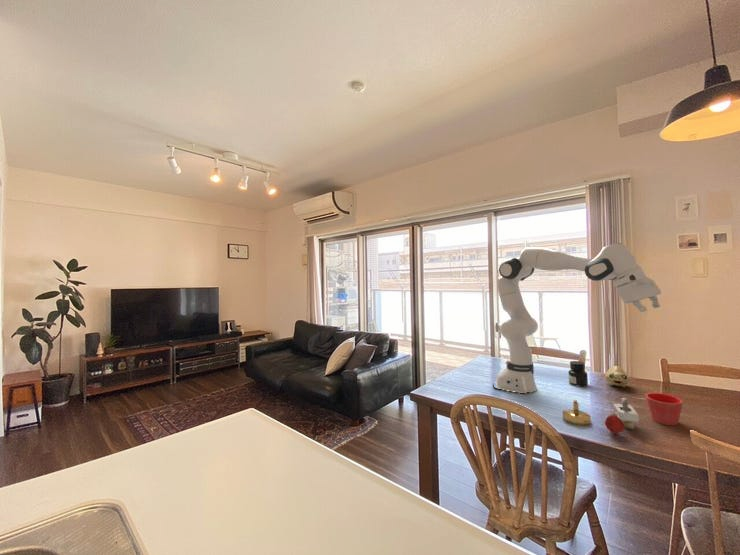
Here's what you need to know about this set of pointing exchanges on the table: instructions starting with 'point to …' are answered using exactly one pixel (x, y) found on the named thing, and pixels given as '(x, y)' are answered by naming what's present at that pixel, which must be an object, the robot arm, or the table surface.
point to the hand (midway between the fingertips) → (650, 309)
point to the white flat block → (626, 413)
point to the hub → (576, 416)
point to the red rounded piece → (614, 424)
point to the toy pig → (617, 376)
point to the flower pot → (664, 408)
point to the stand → (625, 407)
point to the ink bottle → (578, 374)
